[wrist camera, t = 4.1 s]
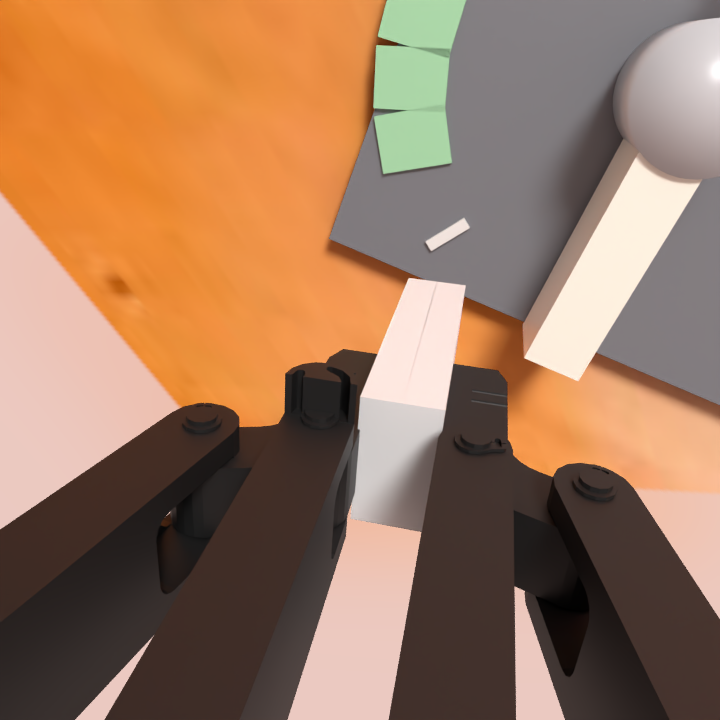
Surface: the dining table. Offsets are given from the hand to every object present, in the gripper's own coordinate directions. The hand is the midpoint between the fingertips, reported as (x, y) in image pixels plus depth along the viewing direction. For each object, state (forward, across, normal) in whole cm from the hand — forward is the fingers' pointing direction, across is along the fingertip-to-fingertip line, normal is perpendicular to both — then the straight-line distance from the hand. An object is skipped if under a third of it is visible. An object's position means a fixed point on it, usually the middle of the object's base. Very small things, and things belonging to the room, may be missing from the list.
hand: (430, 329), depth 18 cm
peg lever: (+13, +8, +6) cm, 16 cm away
